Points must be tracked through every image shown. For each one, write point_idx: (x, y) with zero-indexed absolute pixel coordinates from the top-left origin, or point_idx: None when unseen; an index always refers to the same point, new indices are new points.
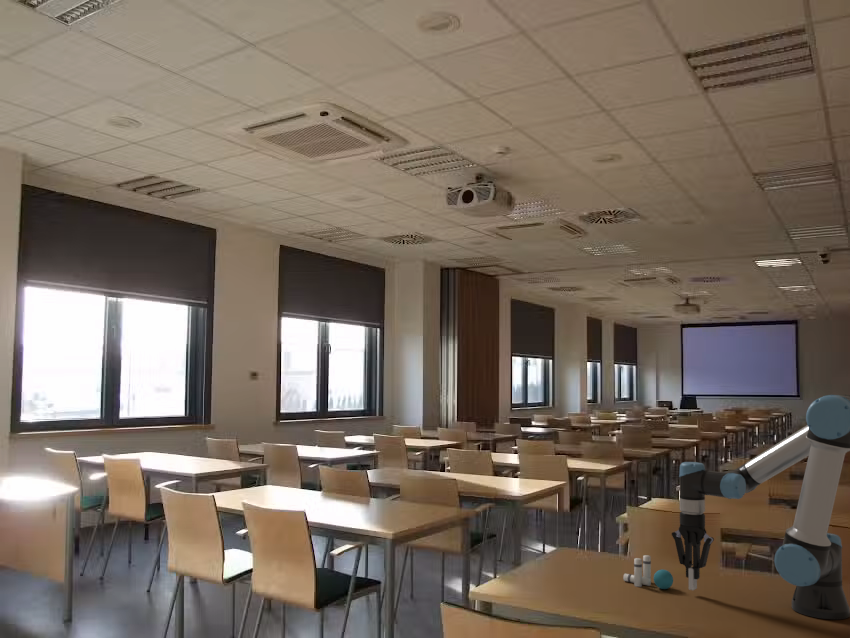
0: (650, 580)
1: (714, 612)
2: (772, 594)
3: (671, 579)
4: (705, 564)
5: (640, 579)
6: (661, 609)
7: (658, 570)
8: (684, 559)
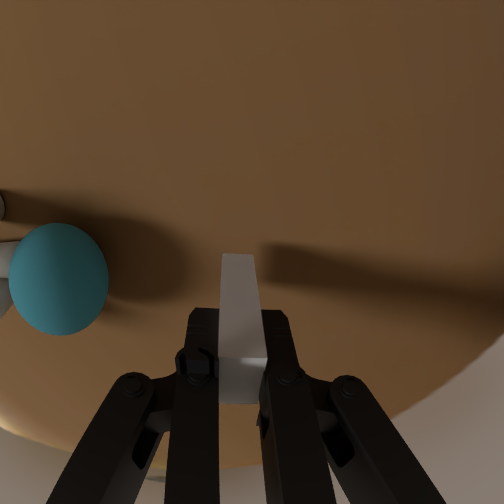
0: (12, 253)
1: (358, 372)
2: (494, 20)
3: (100, 297)
4: (366, 400)
5: (9, 305)
6: (219, 425)
7: (20, 313)
8: (139, 415)
